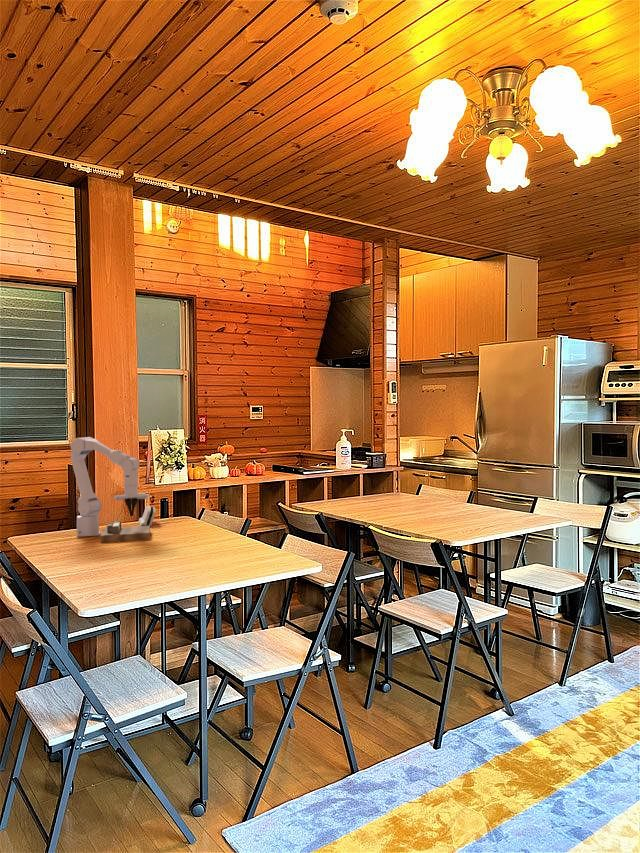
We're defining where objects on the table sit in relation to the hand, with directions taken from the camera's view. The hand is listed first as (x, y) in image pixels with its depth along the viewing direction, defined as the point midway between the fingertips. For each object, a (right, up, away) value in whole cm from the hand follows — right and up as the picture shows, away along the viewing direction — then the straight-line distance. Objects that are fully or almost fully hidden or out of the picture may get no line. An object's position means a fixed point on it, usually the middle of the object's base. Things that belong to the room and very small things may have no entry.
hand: (131, 515), depth 291 cm
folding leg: (-6, -6, -2) cm, 9 cm away
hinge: (-1, -9, +32) cm, 33 cm away
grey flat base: (-2, -9, -1) cm, 10 cm away
